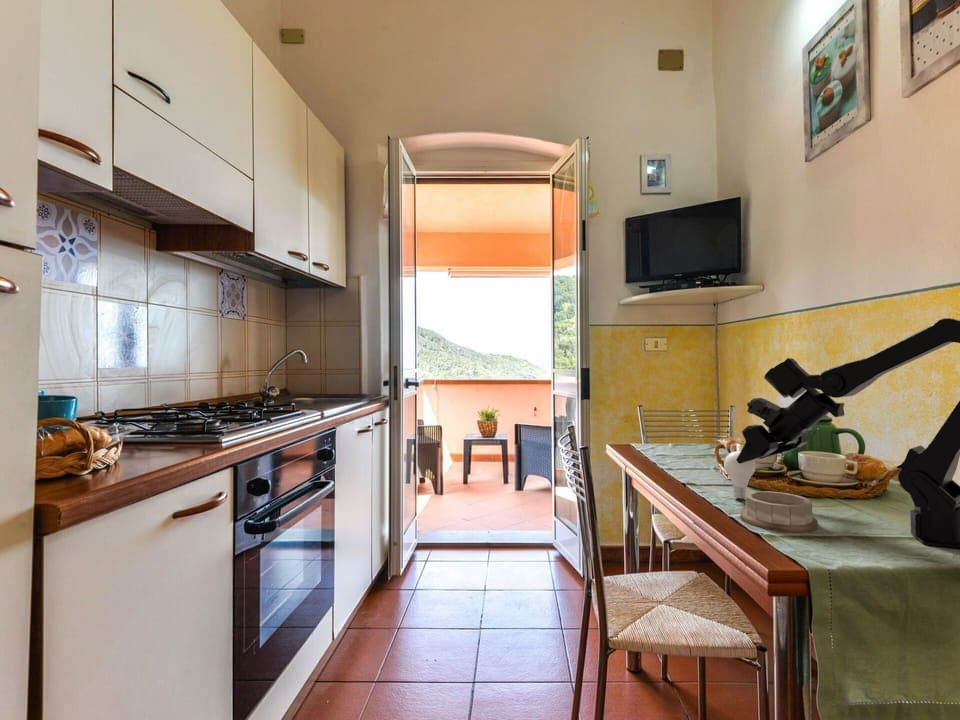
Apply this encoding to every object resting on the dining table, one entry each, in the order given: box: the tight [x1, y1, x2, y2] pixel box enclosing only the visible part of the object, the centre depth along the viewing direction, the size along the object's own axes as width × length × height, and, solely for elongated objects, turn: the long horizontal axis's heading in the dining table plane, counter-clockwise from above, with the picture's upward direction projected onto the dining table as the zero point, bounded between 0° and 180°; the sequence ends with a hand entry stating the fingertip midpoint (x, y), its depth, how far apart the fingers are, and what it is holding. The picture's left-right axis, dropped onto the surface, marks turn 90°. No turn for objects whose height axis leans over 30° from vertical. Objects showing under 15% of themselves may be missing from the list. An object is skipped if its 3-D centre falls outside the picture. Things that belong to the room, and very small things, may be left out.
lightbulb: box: [723, 450, 756, 501], centre depth 114 cm, size 6×6×11 cm
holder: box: [740, 490, 819, 533], centre depth 98 cm, size 13×13×4 cm
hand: (748, 459), depth 112 cm, fingers open, 9 cm apart
